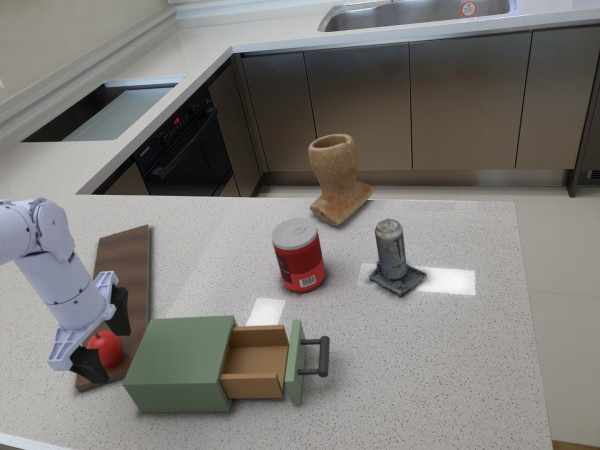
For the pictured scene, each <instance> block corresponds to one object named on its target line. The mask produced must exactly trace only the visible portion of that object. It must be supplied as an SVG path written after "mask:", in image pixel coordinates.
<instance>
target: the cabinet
mask: <svg viewBox="0 0 600 450" xmlns="http://www.w3.org/2000/svg"><path fill="white" fill-rule="evenodd" d="M234 315H235V314H232V315H231V314H230V315H209V316H189V317H187V316H186V317H167V318H165V317H164V318H151V319H149V324H148V327H147V329H146V331H145V333H144V336H143V338H142V340H141V343H140V345H139V347H138V349H137V352H136V354H135V356H134V358H133V361H132V363H131V365H130V367H129V370H128V372H127V374H126V377H125V378H123V382H122V383H121V386H122V387H123V389H124V390H125V392H126V393H127V394H128V396H129V397H130V398H131V400H132V401H133V403H134V404H135V406H136V408H138V409H139V412H141V413H217V412H218V413H219V412H223V413H224V412H225V413H227V412H228V413H229V412H231V408H232V403H233V399H234V398H227V397H226V395H225V393H224V391H223V389H222V387H221V385H220V383H219V378H220V375H221V371H222V367H223V363H224V359H225V355H226V351H227V347H228V343H229V340H230V336H231V332H232V328H233V327H239V325H238V323H237V320H236V317H235V316H234Z"/></svg>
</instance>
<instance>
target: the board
mask: <svg viewBox="0 0 600 450" xmlns="http://www.w3.org/2000/svg"><path fill="white" fill-rule="evenodd" d="M97 245H98V246H97V250H96V256H95V263H94V269H93V275H92V280H93V281H94V280H95V279H96V278H97V277H98V275H99V274H100V272H107V271H114V273H115V274H116V276H117V278H118V280H119V282H118V284H117V285H116V286H115V287H116V288H117V287H125V288H126V289H127V291H128V293H129V294H128V301H127V310H128V318H129V323H130V327H131V334H130V336H119V337H120V338H121V340H122V343H123V349H122V351H123V357H122V359H121V360H120V361H119V362H118V363H117V364H116V365H114V366H112V367H104V366H103V367H104V369H105V370H106V372H107V373H108V376H109V381H108V383H107V384H109V383H112V382H115V381H118V380H121V379H122V380H123V379H125V377H126V374H127V372H128V370H129V367H130V365H131V363H132V361H133V358H134V356H135V354H136V352H137V349H138V347H139V345H140V343H141V340H142V338H143V336H144V333H145V331H146V329H147V327H148V324H149V322H150V276H151V275H150V271H151V270H150V269H151V268H150V265H151V229H150V226H149V224H143V225H140V226H137V227H133V228H129V229H127V230H123V231H119V232H116V233H113V234H109V235H105V236H102V237H99V238H98V244H97ZM102 331H111V329H110V328H109V327H108V325H107V324H106V323H105V321H102V322H101V323H100V324H99V325H98V326H97V328H96V329H95V330H94V331H93V332H92V333H91V334H90V335H89V336H88V337H87V338H86V339H85V340H84V341H83V342H82V343H81V347H83V346H85V347H86V349H87V346H88V343H89V341H90V339H91V338H92V337H93V336H94V334H95V333H99V332H102ZM103 385H104V384H93V383H92V382H90V381H89V380H87V379H86V378H84V377H82V376H81V375H79V374H76V379H75V385H74V388H75V389H76V390H77V391H78V392H79V393H82V392H84V391H88V390H91V389H94V388H96V387H99V386H103Z"/></svg>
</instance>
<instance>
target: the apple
mask: <svg viewBox="0 0 600 450" xmlns="http://www.w3.org/2000/svg"><path fill="white" fill-rule="evenodd" d="M95 348H99V357H100V360H101V363H102V365H103V366H104V367H112V366H114V365H116V364H117V363H118V362H119V361H120V360H121V359H122V357H123V351H122V349H123V343H122V340H121V338H120V337H119V336H116V335H115V334H114V333H113V332H112V331H102V332H99V333H95V334H94V336H93V337H92V338H91V339H90V341H89V343H88V346H87V349H95Z"/></svg>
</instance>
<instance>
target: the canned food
mask: <svg viewBox="0 0 600 450" xmlns="http://www.w3.org/2000/svg"><path fill="white" fill-rule="evenodd" d="M271 242H272V246H273V250H274V253H275V257H276V260H277V264H278V267H279V268H278V269H279V271H280V276H281V278H282V282H283V284H284V285H285V288H287V289H288V290H289V291H291V292H294V293H299V294H301V293H308V292H312V291H313V290H315V289H317V288H318V287H320V286H321V284H322V283H323V282H324V280H325V276H326V269H325V268H326V267H325V263H324V258H323V257H324V256H323V252H322V245H321V240H320V235H319V232H318V226H317V225H316V223H315V222H314V221H313V220H312V219H309V218H305V217H294V218H293V217H292V218H289V219H287V220H284V221H282V222H280V223H279V224H278V225H277V226H276V227H274V229H273V230H272V232H271Z"/></svg>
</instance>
